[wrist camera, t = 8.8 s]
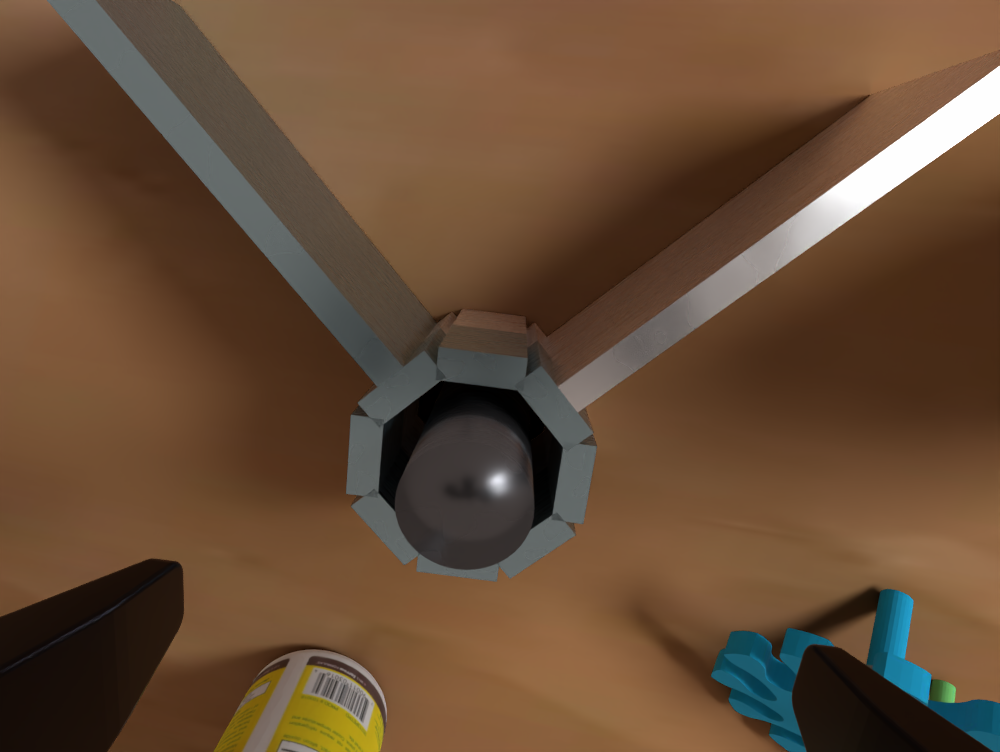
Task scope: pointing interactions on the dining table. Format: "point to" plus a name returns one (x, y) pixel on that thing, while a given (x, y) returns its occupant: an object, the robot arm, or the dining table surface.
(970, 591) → the dining table surface
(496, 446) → the hinge pin
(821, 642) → the gear
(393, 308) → the hinge fixture
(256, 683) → the supplement bottle
